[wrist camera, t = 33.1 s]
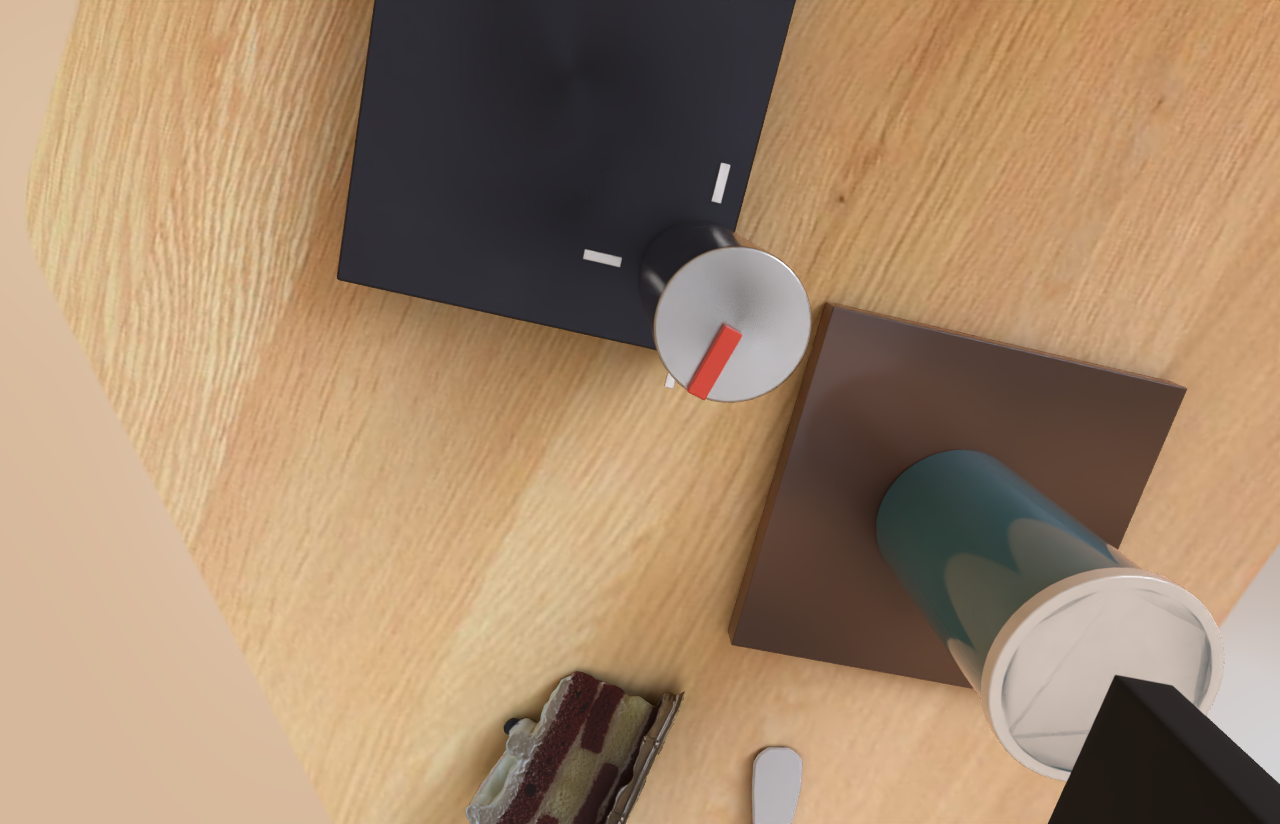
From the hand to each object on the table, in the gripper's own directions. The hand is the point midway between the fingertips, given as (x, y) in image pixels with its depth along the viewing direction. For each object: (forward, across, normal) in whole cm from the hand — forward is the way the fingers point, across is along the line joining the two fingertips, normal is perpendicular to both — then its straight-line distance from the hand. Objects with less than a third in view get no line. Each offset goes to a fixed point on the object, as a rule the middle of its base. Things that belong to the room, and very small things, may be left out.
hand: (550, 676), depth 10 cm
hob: (+27, 0, +7) cm, 28 cm away
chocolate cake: (+27, +4, -22) cm, 35 cm away
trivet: (+27, +18, -6) cm, 33 cm away
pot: (+26, +18, -6) cm, 32 cm away
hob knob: (+24, +4, +2) cm, 24 cm away
